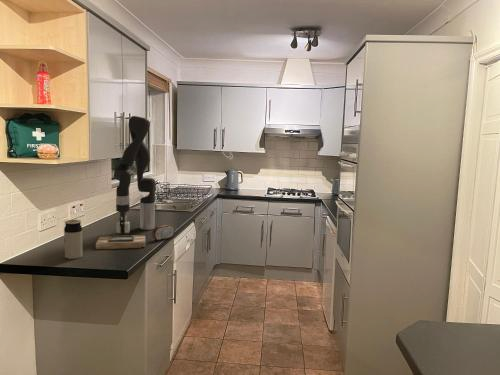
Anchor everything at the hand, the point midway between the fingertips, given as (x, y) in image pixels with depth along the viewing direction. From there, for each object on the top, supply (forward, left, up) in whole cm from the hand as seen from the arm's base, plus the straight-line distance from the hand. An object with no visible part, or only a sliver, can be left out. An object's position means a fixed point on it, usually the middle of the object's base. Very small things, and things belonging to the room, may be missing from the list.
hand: (123, 231), depth 232 cm
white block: (0, 0, -1) cm, 1 cm away
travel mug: (+36, -21, -4) cm, 41 cm away
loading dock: (+16, 0, -4) cm, 16 cm away
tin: (+6, +23, -4) cm, 24 cm away
